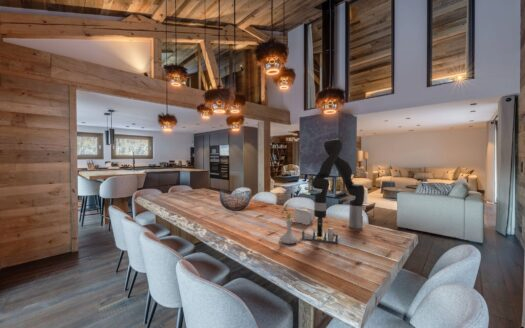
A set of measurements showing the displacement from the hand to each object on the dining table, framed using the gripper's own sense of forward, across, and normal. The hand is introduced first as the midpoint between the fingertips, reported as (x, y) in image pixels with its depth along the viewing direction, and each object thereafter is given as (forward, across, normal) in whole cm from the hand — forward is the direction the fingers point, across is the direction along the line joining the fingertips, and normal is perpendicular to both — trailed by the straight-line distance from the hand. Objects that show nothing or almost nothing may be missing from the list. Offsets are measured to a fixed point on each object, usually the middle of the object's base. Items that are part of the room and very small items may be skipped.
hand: (319, 235), depth 148 cm
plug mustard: (+1, 0, 0) cm, 1 cm away
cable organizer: (+3, +36, +13) cm, 38 cm away
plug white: (+2, 0, -7) cm, 7 cm away
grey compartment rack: (+3, 0, 0) cm, 3 cm away
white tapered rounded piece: (+3, -10, +19) cm, 22 cm away
